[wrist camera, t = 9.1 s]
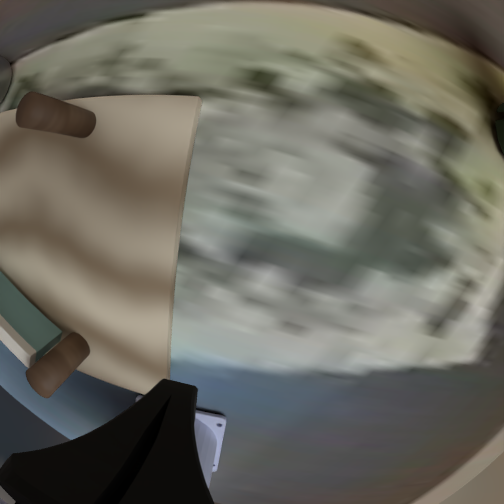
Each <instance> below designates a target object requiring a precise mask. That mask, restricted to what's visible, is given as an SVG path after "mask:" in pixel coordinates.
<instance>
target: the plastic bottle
mask: <svg viewBox="0 0 504 504" xmlns="http://www.w3.org/2000/svg"><path fill="white" fill-rule="evenodd" d="M11 77H12V69H11V66H10V63H9V61H7V60H6V59H5V58H3V57H2V56H0V103H1V102H2V100H3V98H4V97H5V95H6V92H7V90H8V88H9V85H10V81H11Z"/></svg>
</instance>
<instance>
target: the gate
mask: <svg viewBox="0 0 504 504" xmlns="http://www.w3.org/2000/svg"><path fill="white" fill-rule="evenodd" d="M61 336H62V331H61V330H60V329H59V328H58V327H57V326H55V325H54V324H53V323H52V322H51V321H50V320H49V319H47V318H46V317H45V316H44V315H43V314H42V313H41V312H40V311H39V310H38V309H37V308H36V307H35V306H34V305H32V304H31V303H30V302H29V301H28V300H27V299H26V298H25V297H24V296H23V295H22V294H21V293H20V292H19V291H18V289H17V288H16V287H15V286H14V285H13V284H12V283H11V282H10V281H9V280H8V279H7V278H6V277H5V276H4V274H3V273H2V272H1V271H0V340H1V341H2V342H3V343H4V344H5V345H6V346H7V347H8V349H9V350H10V351H11V352H12V353H13V354H14V355H15V356H16V357H17V358H18V359H19V360H20V361H21V362H22V363H23V364H24V365H25V366H26V367H27V368H30V367H31V366H32V365H33V364H35V362H36V361H38V360H39V359H40V358H41V357H42V356H43V355H44V354H46V353H47V352H48V351H49V350H50V349H51V348H53V347H54V346H55V345H56V344H57V343H59V342H60V340H61Z"/></svg>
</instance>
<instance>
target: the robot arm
mask: <svg viewBox="0 0 504 504" xmlns="http://www.w3.org/2000/svg"><path fill="white" fill-rule="evenodd" d="M197 392H198V389H197V388H196V386H193V385H189V384H184V383H180V382H176V381H172V380H168V379H165V378H164V379H162V380H160V381H159V382H158V383H157V384H156V385H155V386H154V387H153V388H152V389H151V390H150V391H149V392H148V393H146V394H145V395H144V396H142V395H138V396H137V397H136V403H134V404H133V405H132V406H131V407H129V408H128V409H127V410H125V411H124V412H122V413H121V414H119V415H118V416H117V417H115V418H114V419H112V420H111V421H109V422H107V423H106V424H104V425H102V426H101V427H99V428H97V429H95V430H93V431H91V432H89V433H87V434H85V435H83V436H80V437H78V438H76V439H73V440H71V441H68V442H65V443H63V444H59V445H55V446H52V447H48V448H45V449H41V450H35V451H29V452H22V453H13V454H12V455H11V456H10V457H9V458H8V459H7V460H6V462H5V463H4V464H3V466H2V467H1V468H0V486H1V487H2V488H3V489H4V490H5V491H6V492H7V493H8V494H9V495H10V496H11V497H12V498H13V499H14V500H15V501H16V503H15V504H214V502H213V499H212V497H211V494H210V492H209V485H210V479H211V474H212V471H213V472H214V471H217V467H218V462H219V456H220V451H221V446H222V441H223V436H224V430H225V425H226V417H224V416H222V415H218V414H213V413H208V412H203V411H198V410H196V403H197ZM218 423H220V424H218ZM0 504H7V503H6V502H5V501H4V500H3V499H1V498H0Z"/></svg>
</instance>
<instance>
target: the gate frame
mask: <svg viewBox="0 0 504 504" xmlns="http://www.w3.org/2000/svg"><path fill="white" fill-rule="evenodd" d="M201 106H202V100H201V99H200V97H198V96H180V95H120V96H102V97H90V98H79V99H71V100H63V101H61V100H58V99H55V98H52V97H49V96H46V95H43V94H40V93H36V92H29V93H27V94H26V95H25V96H24V97H23V98H22V100H21V101H20V103H19V105H18V107H17V109H13V110H8V111H4V112H1V114H0V271H1V272H2V273H3V274H4V276H5V277H6V278H7V279H8V280H9V281H10V282H11V283H12V284H13V285H14V286H15V287H16V288H17V289H18V291H19V292H20V293H21V294H22V295H23V296H24V297H25V298H26V299H27V300H28V301H29V302H30V303H31V304H32V305H34V306H35V307H36V308H37V309H38V310H39V311H40V312H41V313H42V314H43V315H44V316H45V317H46V318H47V319H49V320H50V321H51V322H52V323H53V324H54V325H55V326H57V327H58V328H59V329H60V330H61V331H62V336H61V340H60V342H59V343H57V344H56V345H55V346H54V347H53V348H51V349H50V350H49V351H48V352H47V353H46V354H44V356H43V357H42V358H40V359H39V360H38V361H37V362H36V363H35V364H33V365H32V366H31V367H30V368H29V369H28V370H27V371H26V377H27V380H28V382H29V384H30V385H31V387H32V388H33V389H34V390H35V391H36V392H37V393H38V394H39V395H40V396H42V397H44V398H49V397H50V396H51V395H52V394H53V393H54V392H55V391H56V390H57V389H58V388H59V386H60V385H61V384H62V383H63V382H64V381H65V380H66V379H67V378H68V377H69V376H70V375H71V374H72V373H73V372H74V370H75V369H76V370H78V371H80V372H83V373H85V374H88V375H90V376H93V377H95V378H98V379H100V380H103V381H106V382H108V383H111V384H114V385H117V386H119V387H122V388H125V389H128V390H131V391H134V392H137V393H141V394H144V395H145V394H146V393H148V392H149V391H150V390H151V389H152V388H153V387H154V386H155V385H156V384H157V383H158V382H159V381H160V380H162V379H164V378H165V379H168V380H170V358H171V335H172V318H173V303H174V290H175V279H176V268H177V258H178V249H179V240H180V232H181V224H182V216H183V209H184V202H185V195H186V188H187V181H188V175H189V169H190V163H191V157H192V152H193V146H194V141H195V135H196V130H197V125H198V120H199V115H200V110H201Z"/></svg>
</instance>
